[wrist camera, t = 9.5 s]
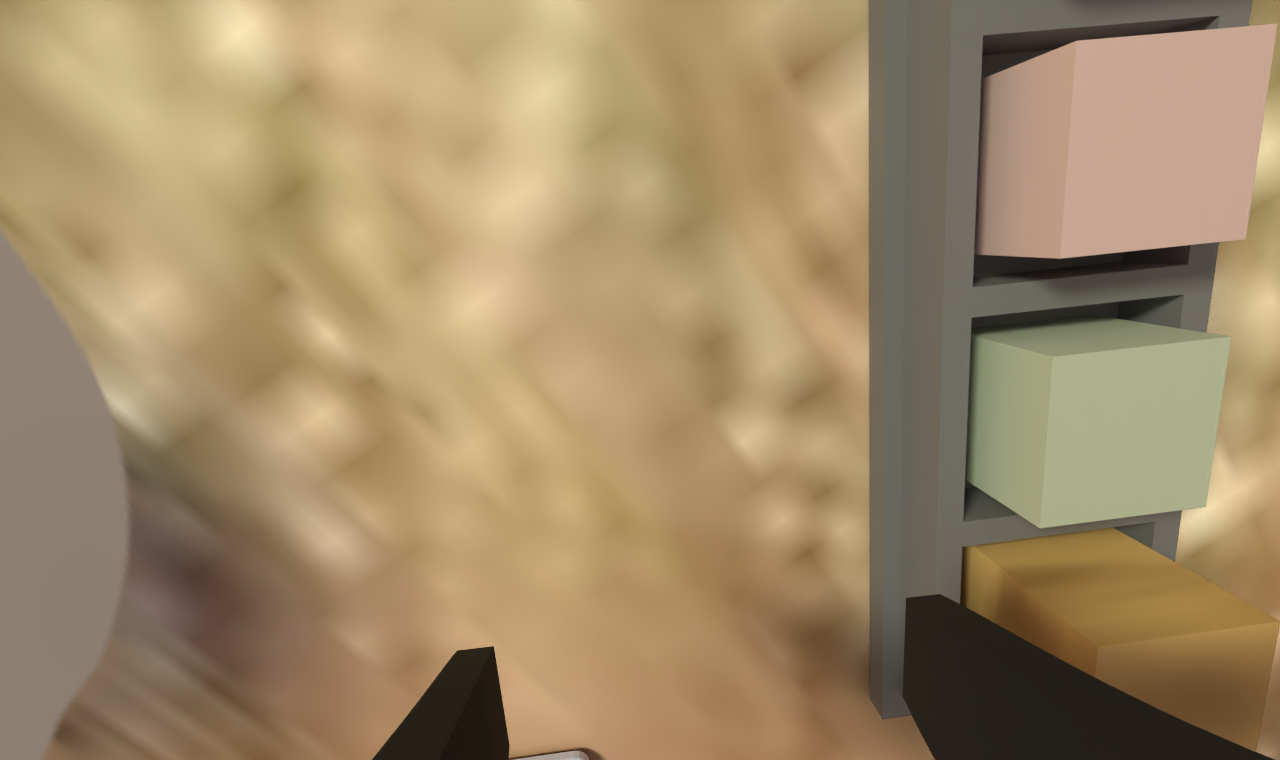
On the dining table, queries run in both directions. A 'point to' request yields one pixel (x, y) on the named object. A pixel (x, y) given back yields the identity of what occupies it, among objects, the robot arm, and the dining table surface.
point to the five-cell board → (1045, 275)
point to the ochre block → (1131, 623)
